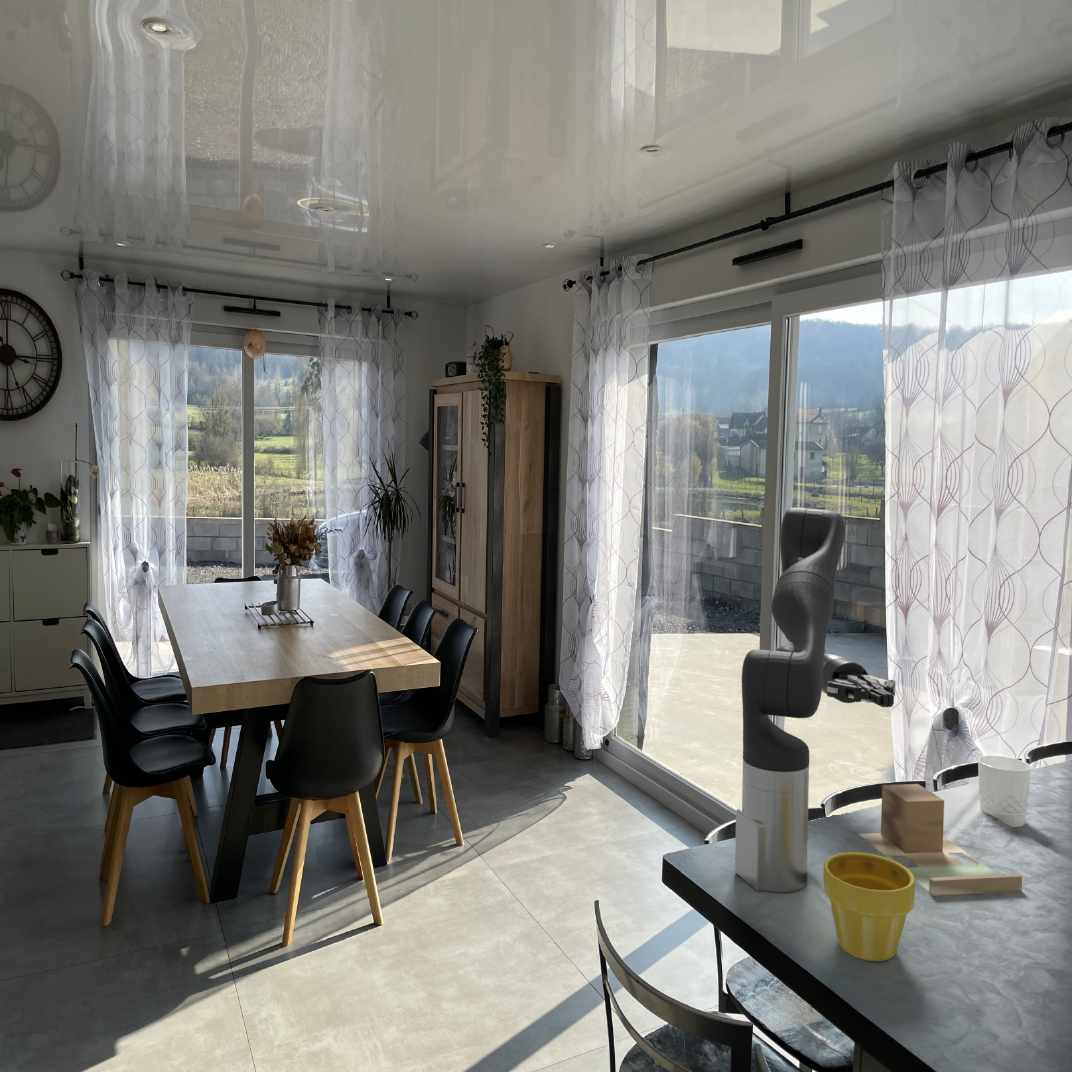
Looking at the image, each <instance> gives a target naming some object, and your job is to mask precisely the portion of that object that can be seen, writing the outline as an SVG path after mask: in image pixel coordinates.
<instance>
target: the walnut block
mask: <svg viewBox="0 0 1072 1072" xmlns="http://www.w3.org/2000/svg"><path fill="white" fill-rule="evenodd" d="M881 786H882V787H881V812H880V813H881V816H880V818H881V819H880V821H881V824H880V833H881V835H883V836H884V837H885V838H886V839H888V840H889V841H890V842H891V843H893V844H894V845H895V846H897V847H898V848H899V849H900V850H902V851H903V852H904V853H905V854H906V853H927V852H943V837H944V824H945V823H944V817H945V800H944V799H943V798H941V797H940V796H938V795H936V794H935V793H933V792H932V791H930V790H929V789H927V788H925V787H924V786H922V785H920V784H919V783H908V784H907V783H906V784H882V785H881Z"/></svg>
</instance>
